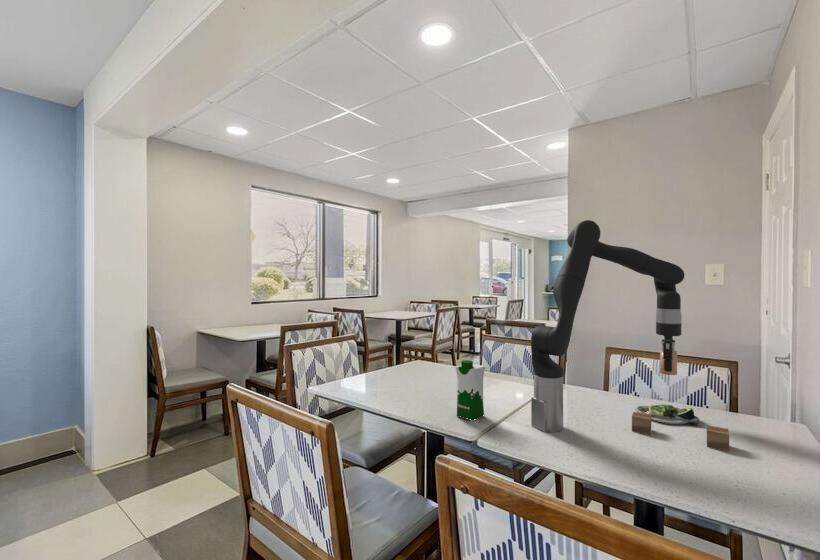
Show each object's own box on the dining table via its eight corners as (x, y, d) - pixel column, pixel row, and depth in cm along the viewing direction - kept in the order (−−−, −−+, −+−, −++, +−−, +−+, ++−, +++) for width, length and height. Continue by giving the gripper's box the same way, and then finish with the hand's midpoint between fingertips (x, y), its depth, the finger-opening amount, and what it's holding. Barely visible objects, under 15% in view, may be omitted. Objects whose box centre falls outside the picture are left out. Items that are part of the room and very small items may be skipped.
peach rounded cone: (671, 375, 134) (671, 352, 134) (656, 372, 139) (657, 350, 138) (680, 374, 136) (680, 351, 136) (665, 371, 141) (665, 349, 141)
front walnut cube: (729, 452, 110) (729, 434, 110) (707, 447, 113) (707, 430, 113) (727, 445, 114) (727, 428, 114) (706, 441, 117) (706, 425, 117)
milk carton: (453, 416, 138) (452, 360, 138) (467, 410, 145) (467, 356, 145) (473, 423, 132) (473, 364, 132) (488, 415, 139) (487, 360, 139)
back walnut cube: (650, 435, 122) (650, 419, 122) (631, 431, 125) (631, 416, 125) (651, 430, 126) (651, 414, 126) (633, 426, 129) (633, 411, 129)
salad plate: (651, 428, 128) (651, 414, 128) (622, 409, 146) (622, 397, 146) (710, 428, 128) (710, 414, 128) (674, 409, 146) (674, 397, 146)
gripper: (681, 324, 129) (680, 375, 129) (681, 320, 141) (681, 367, 141) (654, 322, 134) (654, 372, 134) (657, 318, 145) (657, 364, 145)
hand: (668, 369), depth 137 cm, fingers closed on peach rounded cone, 5 cm apart
